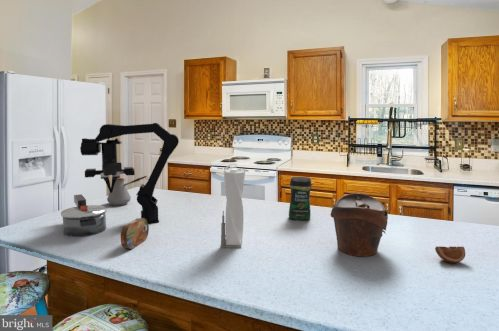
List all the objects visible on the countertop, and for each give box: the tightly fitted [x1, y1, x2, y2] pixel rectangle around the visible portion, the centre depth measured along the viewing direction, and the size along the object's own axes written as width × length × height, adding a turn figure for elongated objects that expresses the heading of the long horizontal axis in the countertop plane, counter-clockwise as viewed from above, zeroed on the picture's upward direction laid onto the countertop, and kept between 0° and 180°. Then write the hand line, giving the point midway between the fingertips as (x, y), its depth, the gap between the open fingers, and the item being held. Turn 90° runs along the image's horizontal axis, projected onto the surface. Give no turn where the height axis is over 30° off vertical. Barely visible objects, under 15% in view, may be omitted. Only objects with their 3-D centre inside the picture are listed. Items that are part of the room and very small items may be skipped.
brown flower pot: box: [330, 192, 389, 257], centre depth 115 cm, size 18×20×18 cm
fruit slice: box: [434, 245, 466, 264], centre depth 107 cm, size 8×7×5 cm
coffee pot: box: [106, 175, 149, 207], centre depth 176 cm, size 21×12×15 cm, turn 83°
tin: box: [119, 217, 150, 250], centre depth 120 cm, size 15×3×8 cm, turn 168°
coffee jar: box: [288, 176, 312, 221], centre depth 152 cm, size 10×8×19 cm
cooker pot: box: [62, 212, 107, 238], centre depth 137 cm, size 26×15×7 cm, turn 32°
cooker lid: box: [60, 193, 107, 219], centre depth 138 cm, size 25×16×4 cm, turn 33°
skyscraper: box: [220, 163, 246, 249], centre depth 120 cm, size 8×8×28 cm
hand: (111, 192), depth 143 cm, fingers closed
